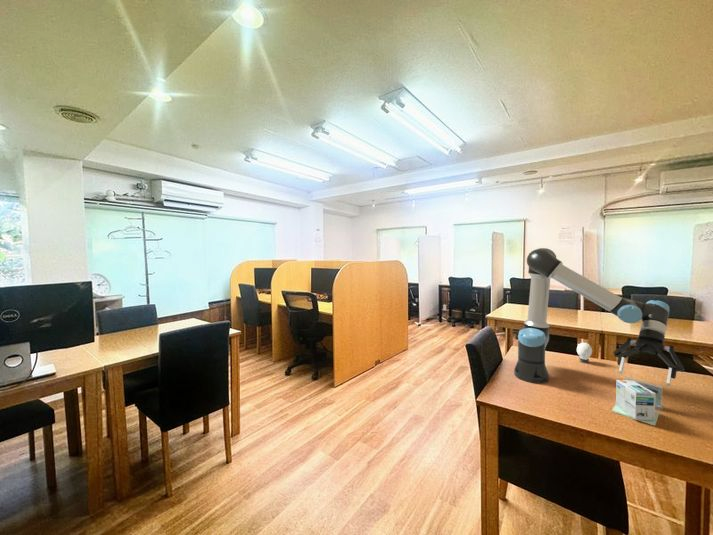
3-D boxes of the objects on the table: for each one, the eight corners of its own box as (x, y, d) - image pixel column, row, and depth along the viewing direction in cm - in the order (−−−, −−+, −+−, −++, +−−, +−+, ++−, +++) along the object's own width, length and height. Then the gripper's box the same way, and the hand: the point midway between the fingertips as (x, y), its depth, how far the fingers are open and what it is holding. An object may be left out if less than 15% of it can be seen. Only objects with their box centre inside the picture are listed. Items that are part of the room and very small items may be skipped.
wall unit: (622, 398, 123) (623, 378, 122) (623, 396, 125) (624, 376, 124) (661, 410, 114) (662, 388, 113) (662, 408, 116) (663, 386, 115)
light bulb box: (655, 421, 106) (657, 393, 106) (635, 420, 108) (636, 392, 107) (633, 405, 117) (634, 379, 116) (614, 404, 118) (615, 379, 117)
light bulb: (590, 360, 162) (591, 341, 161) (592, 365, 156) (593, 345, 156) (575, 358, 166) (576, 340, 165) (577, 362, 160) (577, 343, 159)
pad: (611, 411, 114) (611, 410, 114) (618, 401, 121) (618, 400, 121) (654, 425, 105) (655, 424, 105) (659, 414, 112) (659, 412, 112)
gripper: (697, 345, 114) (691, 394, 106) (614, 331, 134) (604, 371, 126) (697, 335, 110) (690, 385, 103) (612, 322, 130) (601, 363, 123)
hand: (643, 378), depth 114 cm, fingers open, 13 cm apart
